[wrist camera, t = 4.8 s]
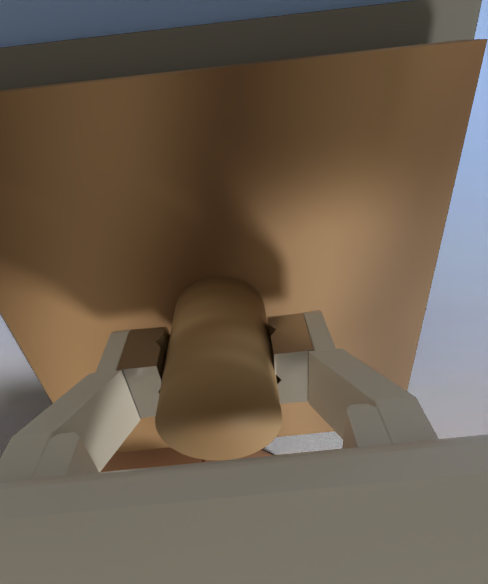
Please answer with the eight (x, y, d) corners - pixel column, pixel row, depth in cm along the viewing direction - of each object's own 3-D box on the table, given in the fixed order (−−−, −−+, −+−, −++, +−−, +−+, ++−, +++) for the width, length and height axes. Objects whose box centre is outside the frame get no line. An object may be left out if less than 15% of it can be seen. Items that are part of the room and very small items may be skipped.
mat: (469, -5, 9) (483, -8, 9) (392, 397, 18) (397, 407, 17) (-126, 63, 9) (-146, 64, 9) (78, 430, 18) (74, 442, 17)
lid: (461, 39, 9) (683, 33, 4) (390, 405, 16) (449, 532, 12) (-87, 99, 9) (-364, 148, 5) (90, 434, 16) (43, 570, 12)
